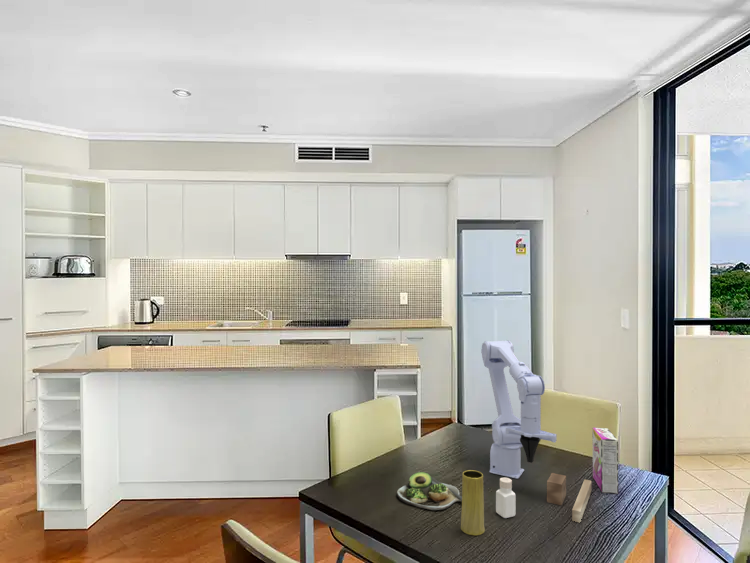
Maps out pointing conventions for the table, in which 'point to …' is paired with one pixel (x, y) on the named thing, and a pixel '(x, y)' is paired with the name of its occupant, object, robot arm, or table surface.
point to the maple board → (581, 501)
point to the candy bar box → (605, 460)
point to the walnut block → (556, 489)
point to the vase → (472, 503)
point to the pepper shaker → (505, 499)
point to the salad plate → (428, 492)
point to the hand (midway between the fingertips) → (530, 461)
